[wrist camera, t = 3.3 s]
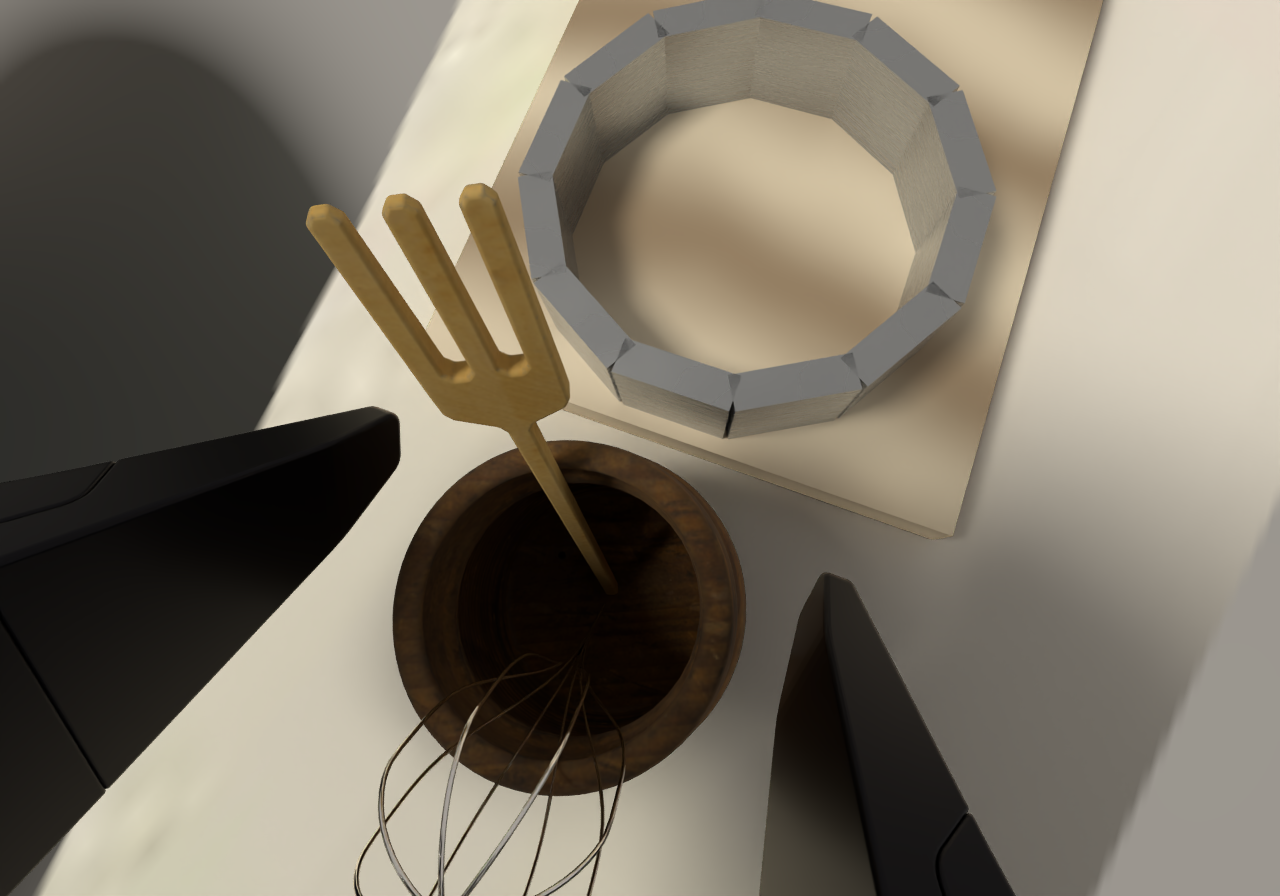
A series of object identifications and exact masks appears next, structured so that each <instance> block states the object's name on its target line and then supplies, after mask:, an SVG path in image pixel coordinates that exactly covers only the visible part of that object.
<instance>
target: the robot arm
mask: <svg viewBox="0 0 1280 896" xmlns="http://www.w3.org/2000/svg"><path fill="white" fill-rule="evenodd" d="M400 456H401V448H400V422H399V418H398V416H397V415H396V414H394V413H392V412H390V411H387V410H384V409H381V408H379V407H375V406H370V407H365V408H360V409H356V410H351V411H346V412H342V413H337V414H332V415H327V416H323V417H318V418H313V419H308V420H304V421H299V422H294V423H289V424H285V425H280V426H275V427H270V428H266V429H261V430H256V431H252V432H247V433H242V434H238V435H233V436H228V437H223V438H218V439H214V440H209V441H204V442H200V443H195V444H190V445H185V446H181V447H176V448H171V449H166V450H162V451H157V452H152V453H148V454H143V455H138V456H133V457H128V458H124V459H119V460H118V461H117V462H116V463H115V462H113V461H109V462H104V463H99V464H95V465H90V466H86V467H81V468H76V469H71V470H66V471H61V472H56V473H51V474H46V475H40V476H35V477H30V478H25V479H19V480H13V481H7V482H1V483H0V896H8V895H9V894H10V893H11V892H12V891H13V890H14V889H15V888H16V887H17V886H18V885H19V884H20V883H21V882H22V881H23V879H24V878H25V877H26V876H27V875H28V874H29V873H30V872H31V871H32V870H33V869H34V868H35V867H36V866H37V865H38V864H39V862H40V861H41V860H42V859H43V858H44V857H45V856H46V855H47V854H48V853H49V852H50V851H51V850H52V848H54V847H55V845H56V844H57V843H58V842H59V841H60V840H61V839H62V838H63V837H64V836H65V835H66V834H67V833H68V832H69V831H70V830H71V829H72V827H73V826H74V825H75V824H76V823H77V822H78V821H79V820H80V819H81V818H82V817H83V816H84V815H85V814H86V813H87V812H88V810H89V809H90V808H91V807H92V806H93V805H94V804H95V803H96V802H97V801H98V800H99V799H100V798H101V797H102V796H103V795H104V793H105V791H106V790H105V789H108V788H109V787H110V786H111V785H112V784H113V783H114V782H115V781H116V780H117V779H118V778H119V777H120V776H121V775H122V774H123V773H124V772H125V771H126V769H127V768H128V767H129V766H130V765H131V764H132V763H133V762H134V761H135V760H136V759H137V758H138V757H139V756H140V755H141V753H142V752H143V751H144V750H145V749H146V748H147V747H148V746H149V745H150V744H151V743H152V742H153V741H154V740H155V739H156V738H157V736H158V735H159V734H160V733H161V732H162V731H163V730H164V729H165V728H166V727H167V726H168V725H169V724H170V723H171V722H172V721H173V719H174V718H175V717H176V716H177V715H178V714H179V713H180V712H181V711H182V710H183V709H184V708H185V707H186V706H187V705H188V704H189V702H190V701H191V700H192V699H193V698H194V697H195V696H196V695H197V694H198V693H199V692H200V691H201V690H202V689H203V688H204V686H205V685H206V684H207V683H208V682H209V681H210V680H211V679H212V678H213V677H214V676H215V675H216V674H217V673H218V672H219V671H220V669H221V668H222V667H223V666H224V665H225V664H226V663H227V662H228V661H229V660H230V659H231V658H232V657H233V656H234V655H235V654H236V652H237V651H238V650H239V649H240V648H241V647H242V646H243V645H244V644H245V643H246V642H247V641H248V640H249V639H250V638H251V637H252V635H253V634H254V633H255V632H256V631H257V630H258V629H259V628H260V627H261V626H262V625H263V624H264V623H265V622H266V621H267V619H268V618H269V617H270V616H271V615H272V614H273V613H274V612H275V611H276V610H277V609H278V608H279V607H280V606H281V605H282V604H283V602H284V601H285V600H286V599H287V598H288V597H289V596H290V595H291V594H292V593H293V592H294V591H295V590H296V589H297V588H298V587H299V585H300V584H301V583H302V582H303V581H304V580H305V579H306V578H307V577H308V576H309V575H310V574H311V573H312V572H313V571H314V570H315V568H316V567H317V566H318V565H319V564H320V563H321V562H322V561H323V560H324V559H325V558H326V557H327V556H328V555H329V554H330V552H331V551H332V550H333V549H334V548H335V547H336V546H337V545H338V544H339V543H340V541H341V540H342V539H343V538H344V537H345V535H346V534H347V533H348V532H349V531H350V529H351V528H352V527H353V525H354V524H355V523H356V521H357V520H358V519H359V517H360V516H361V515H362V513H363V512H364V511H365V510H366V508H367V507H368V506H369V504H370V503H371V502H372V500H373V499H374V498H375V496H376V495H377V494H378V492H379V491H380V490H381V488H382V487H383V486H384V484H385V483H386V482H387V480H388V479H389V478H390V476H391V475H392V474H393V472H394V471H395V470H396V468H397V466H398V464H399V461H400ZM967 812H968V806H967V804H966V802H965V800H964V798H963V796H962V794H961V792H960V790H959V788H958V786H957V784H956V782H955V780H954V779H953V777H952V775H951V773H950V771H949V769H948V767H947V765H946V763H945V761H944V759H943V757H942V755H941V753H940V751H939V749H938V748H937V746H936V744H935V742H934V740H933V738H932V736H931V734H930V732H929V730H928V728H927V726H926V724H925V722H924V720H923V718H922V717H921V715H920V713H919V711H918V709H917V707H916V705H915V703H914V701H913V699H912V697H911V695H910V693H909V691H908V689H907V687H906V685H905V684H904V682H903V680H902V678H901V676H900V674H899V672H898V670H897V668H896V666H895V664H894V662H893V660H892V658H891V656H890V654H889V653H888V651H887V649H886V647H885V645H884V643H883V641H882V639H881V637H880V635H879V633H878V631H877V629H876V627H875V625H874V623H873V622H872V620H871V618H870V616H869V614H868V612H867V610H866V608H865V606H864V604H863V602H862V600H861V598H860V596H859V594H858V592H857V591H856V589H855V587H854V585H853V584H852V582H851V581H849V580H847V579H844V578H842V577H839V576H836V575H833V574H831V573H827V572H826V573H823V574H822V575H821V576H820V577H819V579H818V580H817V582H816V584H815V586H814V588H813V590H812V592H811V594H810V596H809V597H808V599H807V601H806V603H805V605H804V607H803V609H802V611H801V614H800V617H799V620H798V624H797V628H796V633H795V637H794V641H793V646H792V650H791V655H790V659H789V664H788V668H787V672H786V677H785V681H784V686H783V690H782V694H781V699H780V704H779V709H778V714H777V721H776V728H775V737H774V748H773V758H772V768H771V779H770V789H769V799H768V810H767V820H766V830H765V841H764V851H763V861H762V872H761V882H760V892H759V896H1015V894H1014V892H1013V890H1012V888H1011V886H1010V885H1009V883H1008V881H1007V879H1006V877H1005V875H1004V874H1003V872H1002V870H1001V868H1000V866H999V864H998V862H997V861H996V859H995V857H994V855H993V853H992V851H991V850H990V848H989V846H988V844H987V842H986V840H985V838H984V836H983V834H982V832H981V830H980V828H979V826H978V825H977V823H976V821H975V819H974V817H973V815H971V814H969V813H968V814H966V813H967Z"/></svg>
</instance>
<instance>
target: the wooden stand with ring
mask: <svg viewBox="0 0 1280 896" xmlns="http://www.w3.org/2000/svg"><path fill="white" fill-rule="evenodd" d="M1102 3H1103V0H579V2H578V4H577V6H576V8H575V10H574V13H573V15H572V17H571V19H570V21H569V23H568V25H567V28H566V30H565V32H564V34H563V36H562V38H561V40H560V43H559V45H558V47H557V49H556V51H555V53H554V56H553V58H552V60H551V62H550V64H549V66H548V68H547V71H546V73H545V75H544V77H543V79H542V81H541V83H540V86H539V88H538V90H537V92H536V94H535V96H534V98H533V101H532V103H531V105H530V107H529V109H528V111H527V113H526V116H525V118H524V120H523V122H522V124H521V126H520V128H519V131H518V133H517V135H516V137H515V139H514V141H513V143H512V146H511V148H510V150H509V152H508V154H507V156H506V159H505V161H504V163H503V165H502V167H501V169H500V171H499V174H498V176H497V178H496V180H495V182H494V184H493V186H492V189H493V190H495V191H496V192H497V193H498V195H499V198H500V201H501V203H502V206H503V208H504V211H505V214H506V216H507V219H508V222H509V224H510V227H511V229H512V232H513V235H514V237H515V240H516V243H517V245H518V248H519V250H520V253H521V256H522V258H523V261H524V264H525V266H526V269H527V271H528V274H529V277H530V279H531V282H532V284H533V287H534V290H535V292H536V295H537V298H538V300H539V303H540V305H541V308H542V311H543V313H544V316H545V319H546V321H547V324H548V326H549V329H550V332H551V334H552V337H553V340H554V342H555V345H556V347H557V350H558V353H559V355H560V358H561V360H562V363H563V366H564V369H565V371H566V374H567V377H568V380H569V382H570V400H569V401H568V403H567V405H566V407H565V408H563V409H562V410H565V411H568V412H571V413H573V414H576V415H579V416H582V417H585V418H588V419H590V420H593V421H596V422H599V423H602V424H605V425H608V426H610V427H613V428H616V429H619V430H622V431H625V432H627V433H630V434H633V435H636V436H639V437H642V438H645V439H647V440H650V441H653V442H656V443H659V444H662V445H664V446H667V447H670V448H673V449H676V450H679V451H681V452H684V453H687V454H690V455H693V456H696V457H699V458H701V459H704V460H707V461H710V462H713V463H716V464H718V465H721V466H724V467H727V468H730V469H733V470H735V471H738V472H741V473H744V474H747V475H750V476H753V477H755V478H758V479H761V480H764V481H767V482H770V483H772V484H775V485H778V486H781V487H784V488H787V489H790V490H792V491H795V492H798V493H801V494H804V495H807V496H809V497H812V498H815V499H818V500H821V501H824V502H826V503H829V504H832V505H835V506H838V507H841V508H844V509H846V510H849V511H852V512H855V513H858V514H861V515H863V516H866V517H869V518H872V519H875V520H878V521H880V522H883V523H886V524H889V525H892V526H895V527H898V528H900V529H903V530H906V531H909V532H912V533H915V534H917V535H920V536H923V537H926V538H929V539H932V540H935V539H940V538H946V537H952V536H953V534H954V530H955V527H956V523H957V520H958V516H959V513H960V509H961V505H962V502H963V498H964V495H965V491H966V488H967V484H968V480H969V477H970V473H971V470H972V466H973V463H974V459H975V456H976V452H977V448H978V445H979V441H980V438H981V434H982V431H983V427H984V423H985V420H986V416H987V413H988V409H989V406H990V402H991V399H992V395H993V391H994V388H995V384H996V381H997V377H998V374H999V370H1000V366H1001V363H1002V359H1003V356H1004V352H1005V349H1006V345H1007V342H1008V338H1009V334H1010V331H1011V327H1012V324H1013V320H1014V317H1015V313H1016V309H1017V306H1018V302H1019V299H1020V295H1021V292H1022V288H1023V285H1024V281H1025V277H1026V274H1027V270H1028V267H1029V263H1030V260H1031V256H1032V253H1033V249H1034V245H1035V242H1036V238H1037V235H1038V231H1039V228H1040V224H1041V220H1042V217H1043V213H1044V210H1045V206H1046V203H1047V199H1048V196H1049V192H1050V188H1051V185H1052V181H1053V178H1054V174H1055V171H1056V167H1057V163H1058V160H1059V156H1060V153H1061V149H1062V146H1063V142H1064V139H1065V135H1066V131H1067V128H1068V124H1069V121H1070V117H1071V114H1072V110H1073V106H1074V103H1075V99H1076V96H1077V92H1078V89H1079V85H1080V82H1081V78H1082V74H1083V71H1084V67H1085V64H1086V60H1087V57H1088V53H1089V49H1090V46H1091V42H1092V39H1093V35H1094V32H1095V28H1096V25H1097V21H1098V17H1099V14H1100V10H1101V7H1102ZM455 269H456V271H457V272H458V274H459V276H460V278H461V280H462V282H463V284H464V286H465V287H466V289H467V291H468V293H469V295H470V297H471V299H472V301H473V302H474V304H475V306H476V308H477V310H478V312H479V314H480V316H481V317H482V319H483V321H484V323H485V325H486V327H487V329H488V331H489V332H490V334H491V336H492V338H493V340H494V342H495V344H496V346H497V347H498V349H499V351H501V352H504V353H506V354H509V355H516V354H523V351H522V349H521V347H520V345H519V342H518V340H517V338H516V335H515V333H514V331H513V328H512V326H511V324H510V321H509V319H508V317H507V315H506V312H505V310H504V308H503V305H502V303H501V301H500V298H499V296H498V294H497V291H496V289H495V287H494V285H493V282H492V280H491V278H490V275H489V273H488V271H487V268H486V266H485V264H484V261H483V259H482V257H481V254H480V252H479V250H478V248H477V245H476V243H475V241H474V238H473V236H472V234H470V236H469V238H468V240H467V242H466V244H465V246H464V249H463V251H462V253H461V255H460V257H459V259H458V262H457V264H456V266H455ZM425 331H426V332H427V333H428V335H429V336H430V338H431V339H432V341H433V342H434V344H435V345H436V347H437V348H438V349H439V351H440V352H441V354H442V355H443V357H445V358H447V359H450V360H453V361H466V360H465V359H464V357H463V355H462V353H461V352H460V350H459V348H458V346H457V345H456V343H455V341H454V339H453V338H452V336H451V334H450V333H449V331H448V329H447V327H446V326H445V324H444V322H443V320H442V319H441V317H440V315H439V313H438V312H437V310H436V309H435V311H434V313H433V315H432V317H431V319H430V322H429V324H428V326H427V328H426V330H425Z"/></svg>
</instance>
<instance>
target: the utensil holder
mask: <svg viewBox="0 0 1280 896" xmlns="http://www.w3.org/2000/svg"><path fill="white" fill-rule="evenodd" d="M459 206H460V208H461V211H462V213H463V215H464V218H465V220H466V222H467V224H468V227H469V229H470V231H471V234H472V236H473V238H474V241H475V243H476V245H477V248H478V250H479V252H480V254H481V257H482V259H483V261H484V264H485V266H486V268H487V271H488V273H489V275H490V278H491V280H492V282H493V285H494V287H495V289H496V291H497V294H498V296H499V298H500V301H501V303H502V305H503V308H504V310H505V312H506V315H507V317H508V319H509V321H510V324H511V326H512V328H513V331H514V333H515V335H516V338H517V340H518V342H519V345H520V347H521V349H522V351H523V354H516V355H509V354H506V353H504V352H501V351H499V349H498V347H497V346H496V344H495V342H494V340H493V338H492V336H491V334H490V332H489V331H488V329H487V327H486V325H485V323H484V321H483V319H482V317H481V316H480V314H479V312H478V310H477V308H476V306H475V304H474V302H473V301H472V299H471V297H470V295H469V293H468V291H467V289H466V287H465V286H464V284H463V282H462V280H461V278H460V276H459V274H458V272H457V271H456V269H455V267H454V265H453V263H452V261H451V259H450V257H449V256H448V254H447V252H446V250H445V248H444V246H443V244H442V242H441V241H440V239H439V237H438V235H437V233H436V231H435V229H434V227H433V226H432V224H431V222H430V220H429V218H428V216H427V214H426V212H425V211H424V209H423V207H422V205H421V203H420V202H419V201H417V200H416V199H414V198H412V197H410V196H408V195H407V194H396V195H390V196H388V197H387V198H386V201H385V203H384V206H383V210H382V216H383V218H384V220H385V221H386V223H387V225H388V227H389V228H390V230H391V232H392V234H393V235H394V237H395V239H396V241H397V242H398V244H399V246H400V247H401V249H402V251H403V253H404V254H405V256H406V258H407V260H408V261H409V263H410V265H411V267H412V268H413V270H414V272H415V273H416V275H417V277H418V279H419V280H420V282H421V284H422V286H423V287H424V289H425V291H426V293H427V294H428V296H429V298H430V300H431V301H432V303H433V305H434V306H435V308H436V310H437V312H438V313H439V315H440V317H441V319H442V320H443V322H444V324H445V326H446V327H447V329H448V331H449V333H450V334H451V336H452V338H453V339H454V341H455V343H456V345H457V346H458V348H459V350H460V352H461V353H462V355H463V357H464V359H465V360H466V361H453V360H450V359H447V358H445V357H443V355H442V354H441V352H440V351H439V349H438V348H437V347H436V345H435V344H434V342H433V341H432V339H431V338H430V336H429V335H428V333H427V332H426V331H425V329H424V328H423V326H422V325H421V323H420V322H419V320H418V319H417V318H416V316H415V315H414V313H413V312H412V310H411V309H410V307H409V306H408V304H407V303H406V302H405V300H404V299H403V297H402V296H401V294H400V293H399V291H398V290H397V288H396V287H395V286H394V284H393V283H392V281H391V280H390V278H389V277H388V275H387V274H386V272H385V271H384V270H383V268H382V267H381V265H380V264H379V262H378V261H377V259H376V258H375V256H374V255H373V254H372V252H371V251H370V249H369V248H368V246H367V245H366V243H365V242H364V240H363V239H362V238H361V236H360V235H359V233H358V232H357V230H356V229H355V227H354V226H353V225H352V223H351V222H350V220H349V219H348V217H347V216H346V214H345V213H344V212H343V211H341V210H339V209H337V208H335V207H333V206H331V205H329V204H322V205H315V206H312V207H311V208H310V209H309V212H308V217H307V221H306V225H307V228H308V229H309V231H310V232H311V233H312V235H313V236H314V237H315V239H316V240H317V242H318V243H319V244H320V246H321V247H322V249H323V250H324V251H325V253H326V254H327V255H328V257H329V258H330V260H331V261H332V262H333V263H334V265H335V267H336V268H337V269H338V271H339V272H340V273H341V275H342V276H343V278H344V279H345V280H346V282H347V283H348V285H349V286H350V287H351V289H352V290H353V291H354V293H355V294H356V296H357V297H358V298H359V300H360V301H361V303H362V304H363V305H364V307H365V308H366V309H367V311H368V312H369V314H370V315H371V316H372V318H373V319H374V321H375V322H376V323H377V325H378V326H379V327H380V329H381V330H382V332H383V333H384V334H385V336H386V337H387V339H388V340H389V341H390V343H391V344H392V345H393V347H394V348H395V350H396V351H397V352H398V354H399V355H400V356H401V358H402V359H403V361H404V362H405V363H406V365H407V366H408V368H409V369H410V370H411V372H412V373H413V374H414V376H415V377H416V379H417V380H418V381H419V383H420V384H421V386H422V387H423V388H424V390H425V391H426V392H427V394H428V395H429V397H430V398H431V399H432V401H433V402H434V403H435V405H436V406H437V407H438V408H439V410H440V411H441V412H442V414H443V415H445V416H447V417H449V418H451V419H453V420H456V421H463V422H469V423H475V424H482V425H488V426H494V427H499V428H501V429H503V430H505V431H507V432H508V433H509V434H510V436H511V438H512V439H513V441H514V443H515V444H516V446H517V447H518V448H516V449H513V450H510V451H508V452H505V453H503V454H500V455H498V456H496V457H494V458H492V459H490V460H488V461H486V462H484V463H483V464H481V465H479V466H478V467H476V468H475V469H473V470H472V471H470V472H469V473H467V474H466V475H465V476H463V477H462V478H461V479H460V480H459V481H457V482H456V483H455V484H454V485H453V486H452V487H451V488H450V489H449V490H447V491H446V492H445V493H444V495H443V496H442V497H441V498H440V499H439V500H438V501H437V502H436V503H435V505H434V506H433V507H432V509H431V510H430V511H429V512H428V514H427V515H426V517H425V518H424V520H423V521H422V523H421V524H420V526H419V528H418V530H417V531H416V533H415V535H414V537H413V539H412V541H411V543H410V545H409V547H408V549H407V552H406V555H405V557H404V560H403V563H402V566H401V569H400V573H399V576H398V581H397V585H396V590H395V597H394V605H393V640H394V648H395V655H396V660H397V664H398V669H399V673H400V676H401V679H402V682H403V685H404V688H405V690H406V692H407V695H408V697H409V699H410V701H411V703H412V705H413V707H414V709H415V711H416V713H417V714H418V716H419V718H420V719H421V721H420V722H419V723H418V725H417V726H416V727H415V728H414V729H413V730H412V732H411V733H410V734H409V735H408V736H407V737H406V738H405V740H404V741H403V742H402V743H401V744H400V745H399V747H398V748H397V749H396V751H395V752H394V754H393V755H392V757H391V758H390V759H389V761H388V763H387V765H386V767H385V769H384V772H383V775H382V778H381V782H380V788H379V796H378V816H379V824H380V826H379V827H378V828H377V830H376V831H375V832H374V834H373V835H372V836H371V838H370V840H369V841H368V843H367V844H366V846H365V847H364V849H363V850H362V852H361V854H360V856H359V858H358V860H357V863H356V866H355V869H354V876H353V886H354V892H355V896H363V895H362V893H361V890H360V886H359V873H360V868H361V864H362V861H363V859H364V857H365V855H366V853H367V851H368V850H369V848H370V847H371V845H372V844H373V842H374V841H375V839H376V838H377V836H378V835H379V833H380V832H381V834H382V838H383V842H384V846H385V848H386V851H387V853H388V856H389V859H390V861H391V863H392V865H393V867H394V869H395V871H396V873H397V875H398V876H399V878H400V879H401V881H402V882H403V884H404V885H405V887H406V888H407V890H408V892H409V893H410V894H411V895H412V896H421V894H420V893H419V892H418V891H417V890H416V888H415V887H414V886H413V884H412V883H411V881H410V880H409V878H408V877H407V875H406V874H405V872H404V871H403V869H402V867H401V865H400V863H399V861H398V859H397V857H396V855H395V853H394V850H393V848H392V845H391V843H390V839H389V836H388V832H387V828H386V824H387V823H388V821H389V820H390V819H391V817H392V816H393V815H394V813H395V812H396V810H397V809H398V808H399V806H400V805H401V804H402V803H403V801H404V800H405V799H406V797H407V796H408V795H409V794H410V792H411V791H412V790H413V789H414V788H415V786H416V785H417V784H418V783H419V782H420V781H421V779H422V778H423V777H424V776H425V775H426V774H427V773H428V772H429V771H430V770H431V769H432V768H433V767H434V766H435V765H436V764H437V763H438V762H439V761H440V760H441V759H443V758H444V757H445V756H446V755H447V754H450V755H451V756H453V757H454V760H453V763H452V767H451V771H450V775H449V779H448V784H447V789H446V794H445V800H444V806H443V812H442V820H441V828H440V840H439V854H438V879H437V880H436V882H435V884H434V886H433V887H432V889H431V891H430V893H429V895H428V896H433V895H434V893H435V891H436V889H437V888H438V896H445V894H444V875H445V873H446V871H447V870H448V868H449V866H450V864H451V863H452V861H453V859H454V857H455V855H456V854H457V852H458V850H459V849H460V847H461V845H462V843H463V842H464V840H465V838H466V837H467V835H468V833H469V832H470V830H471V828H472V827H473V825H474V823H475V822H476V820H477V818H478V817H479V815H480V813H481V812H482V810H483V809H484V807H485V805H486V804H487V802H488V801H489V799H490V797H491V796H492V794H493V793H494V791H495V790H496V788H497V786H498V785H501V786H504V787H507V788H510V789H513V790H517V791H521V792H525V793H530V794H531V796H530V797H529V799H528V801H527V802H526V804H525V805H524V807H523V808H522V810H521V812H520V813H519V815H518V816H517V818H516V819H515V821H514V822H513V824H512V825H511V827H510V828H509V830H508V831H507V833H506V834H505V836H504V837H503V839H502V840H501V842H500V843H499V844H498V846H497V847H496V849H495V850H494V852H493V853H492V854H491V856H490V857H489V859H488V860H487V862H486V863H485V864H484V866H483V867H482V868H481V870H480V871H479V873H478V874H477V875H476V877H475V878H474V879H473V881H472V882H471V883H470V885H469V886H468V887H467V889H466V890H465V891H464V893H463V894H462V895H461V896H469V895H470V894H471V892H472V891H473V890H474V888H475V887H476V886H477V884H478V883H479V881H480V880H481V879H482V877H483V876H484V875H485V873H486V872H487V870H488V869H489V868H490V866H491V865H492V863H493V862H494V861H495V859H496V858H497V856H498V855H499V853H500V852H501V851H502V849H503V848H504V846H505V845H506V843H507V842H508V840H509V839H510V837H511V836H512V834H513V833H514V831H515V830H516V828H517V827H518V825H519V824H520V822H521V821H522V819H523V817H524V816H525V814H526V813H527V811H528V810H529V808H530V806H531V805H532V803H533V802H534V800H535V798H536V797H537V795H546V796H549V798H548V803H547V808H546V813H545V818H544V823H543V827H542V831H541V836H540V840H539V844H538V848H537V851H536V855H535V859H534V862H533V865H532V869H531V872H530V875H529V878H528V881H527V884H526V887H525V890H524V893H523V895H522V896H527V894H528V891H529V888H530V885H531V882H532V879H533V876H534V872H535V869H536V866H537V862H538V859H539V855H540V851H541V847H542V844H543V839H544V835H545V830H546V826H547V821H548V816H549V811H550V806H551V800H552V796H573V795H581V794H588V793H592V792H597V791H599V795H600V807H601V826H600V836H599V843H598V844H597V845H596V847H595V848H594V850H593V851H592V852H591V853H590V854H589V855H588V856H587V858H586V859H585V860H584V861H583V862H582V863H581V864H579V865H578V866H577V867H576V868H575V869H574V870H573V871H572V872H571V873H569V874H568V875H567V876H566V877H564V878H563V879H561V880H560V881H559V882H557V883H556V884H554V885H553V886H551V887H549V888H548V889H546V890H544V891H543V892H541V893H539V894H537V895H535V896H549V895H550V894H552V893H554V892H555V891H557V890H558V889H560V888H561V887H562V886H564V885H565V884H567V883H568V882H569V881H570V880H572V879H573V878H574V877H575V876H577V875H578V874H579V873H580V872H581V871H582V870H583V869H584V868H585V867H586V866H587V865H588V864H589V863H590V862H591V861H592V859H593V858H594V857H595V856H596V860H595V864H594V868H593V872H592V876H591V880H590V884H589V888H588V892H587V895H586V896H591V895H592V891H593V887H594V883H595V879H596V875H597V870H598V866H599V861H600V857H601V851H602V846H603V845H604V843H605V841H606V839H607V837H608V835H609V832H610V830H611V827H612V824H613V821H614V818H615V814H616V809H617V805H618V801H619V797H620V793H621V789H622V784H623V783H624V782H627V781H629V780H631V779H633V778H635V777H637V776H639V775H641V774H642V773H644V772H645V771H647V770H649V769H650V768H652V767H653V766H655V765H656V764H658V763H659V762H661V761H662V760H663V759H665V758H666V757H667V756H669V755H670V754H671V753H672V752H673V751H674V750H676V749H677V748H678V747H679V746H680V745H681V744H682V743H683V742H684V741H685V740H686V739H687V738H688V737H689V736H690V735H691V734H692V733H693V731H694V730H696V728H697V727H698V726H699V725H700V724H701V723H702V722H703V721H704V720H705V719H706V718H707V716H708V715H709V714H710V713H711V711H712V710H713V709H714V707H715V706H716V704H717V703H718V701H719V700H720V698H721V697H722V695H723V693H724V691H725V689H726V688H727V686H728V684H729V682H730V679H731V677H732V675H733V673H734V670H735V667H736V664H737V662H738V659H739V655H740V651H741V648H742V643H743V638H744V632H745V622H746V594H745V586H744V579H743V574H742V570H741V566H740V562H739V559H738V556H737V553H736V550H735V548H734V545H733V543H732V540H731V538H730V536H729V534H728V532H727V530H726V529H725V527H724V525H723V523H722V522H721V520H720V519H719V517H718V516H717V514H716V513H715V511H714V510H713V509H712V507H711V506H710V505H709V504H708V503H707V501H706V500H705V499H704V498H703V497H702V496H701V495H700V494H699V493H698V492H697V491H696V490H695V489H694V488H693V487H692V486H691V485H689V484H688V483H687V482H686V481H684V480H683V479H682V478H681V477H679V476H678V475H676V474H675V473H673V472H672V471H670V470H668V469H667V468H665V467H663V466H661V465H659V464H657V463H655V462H653V461H651V460H648V459H646V458H643V457H640V456H638V455H636V454H634V453H631V452H629V451H626V450H623V449H620V448H617V447H613V446H609V445H605V444H599V443H593V442H587V441H576V440H560V441H547V442H546V441H545V439H544V437H543V435H542V433H541V431H540V429H539V427H538V425H537V423H536V421H538V420H540V419H542V418H544V417H546V416H548V415H550V414H553V413H555V412H557V411H559V410H561V409H563V408H565V407H566V405H567V403H568V401H569V400H570V382H569V380H568V377H567V374H566V371H565V369H564V366H563V363H562V360H561V358H560V355H559V353H558V350H557V347H556V345H555V342H554V340H553V337H552V334H551V332H550V329H549V326H548V324H547V321H546V319H545V316H544V313H543V311H542V308H541V305H540V303H539V300H538V298H537V295H536V292H535V290H534V287H533V284H532V282H531V279H530V277H529V274H528V271H527V269H526V266H525V264H524V261H523V258H522V256H521V253H520V250H519V248H518V245H517V243H516V240H515V237H514V235H513V232H512V229H511V227H510V224H509V222H508V219H507V216H506V214H505V211H504V208H503V206H502V203H501V201H500V198H499V195H498V193H497V192H496V191H495V190H493V189H492V188H490V187H488V186H487V185H485V184H483V183H478V184H471V185H467V186H465V188H464V190H463V192H462V194H461V196H460V199H459ZM423 724H424V725H425V727H426V728H427V729H428V731H429V732H430V733H431V735H432V736H433V737H434V738H435V739H436V740H437V742H438V743H439V744H440V745H441V746H442V747H443V748H444V749H445V750H446V751H445V752H444V753H443V754H441V755H440V756H439V757H438V758H437V759H436V760H435V761H434V762H433V763H432V764H430V765H429V766H428V767H427V768H426V769H425V771H424V772H423V773H422V774H421V775H420V776H419V777H418V778H417V779H416V780H415V781H414V782H413V784H412V785H411V786H410V787H409V788H408V790H407V791H406V792H405V793H404V794H403V796H402V797H401V798H400V800H399V801H398V802H397V803H396V805H395V806H394V807H393V809H392V810H391V811H390V812H389V814H388V815H387V816H386V818H385V816H384V791H385V785H386V780H387V776H388V773H389V770H390V768H391V766H392V764H393V762H394V761H395V759H396V758H397V756H398V755H399V753H400V752H401V751H402V749H403V748H404V747H405V746H406V744H407V743H408V742H409V741H410V740H411V738H412V737H413V736H414V735H415V734H416V733H417V731H418V730H419V729H420V728H421V727H422V725H423ZM458 762H460V763H461V764H463V765H464V766H465V767H467V768H468V769H470V770H471V771H473V772H474V773H476V774H478V775H480V776H482V777H484V778H485V779H487V780H489V781H492V782H494V783H495V785H494V786H493V788H492V789H491V791H490V792H489V794H488V796H487V797H486V799H485V800H484V802H483V803H482V805H481V807H480V808H479V810H478V811H477V813H476V815H475V816H474V818H473V819H472V821H471V823H470V824H469V826H468V827H467V829H466V831H465V832H464V834H463V836H462V837H461V839H460V841H459V842H458V844H457V846H456V847H455V849H454V851H453V853H452V854H451V856H450V858H449V859H448V861H447V863H446V865H445V866H444V860H445V841H446V828H447V820H448V811H449V805H450V799H451V793H452V788H453V783H454V778H455V774H456V769H457V765H458ZM617 785H618V786H617ZM614 786H617V790H616V794H615V798H614V802H613V806H612V810H611V814H610V818H609V820H608V823H607V826H606V829H605V831H604V826H605V810H604V798H603V791H602V790H604V789H608V788H611V787H614Z"/></svg>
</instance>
